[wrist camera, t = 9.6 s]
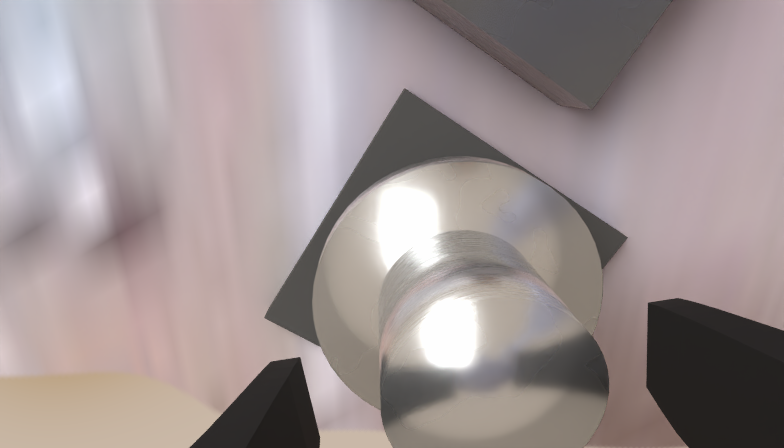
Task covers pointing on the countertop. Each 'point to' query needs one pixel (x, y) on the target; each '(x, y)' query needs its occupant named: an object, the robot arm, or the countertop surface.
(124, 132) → the countertop surface
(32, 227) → the countertop surface
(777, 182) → the countertop surface
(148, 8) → the countertop surface
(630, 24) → the frame
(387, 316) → the door knob
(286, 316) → the mat
